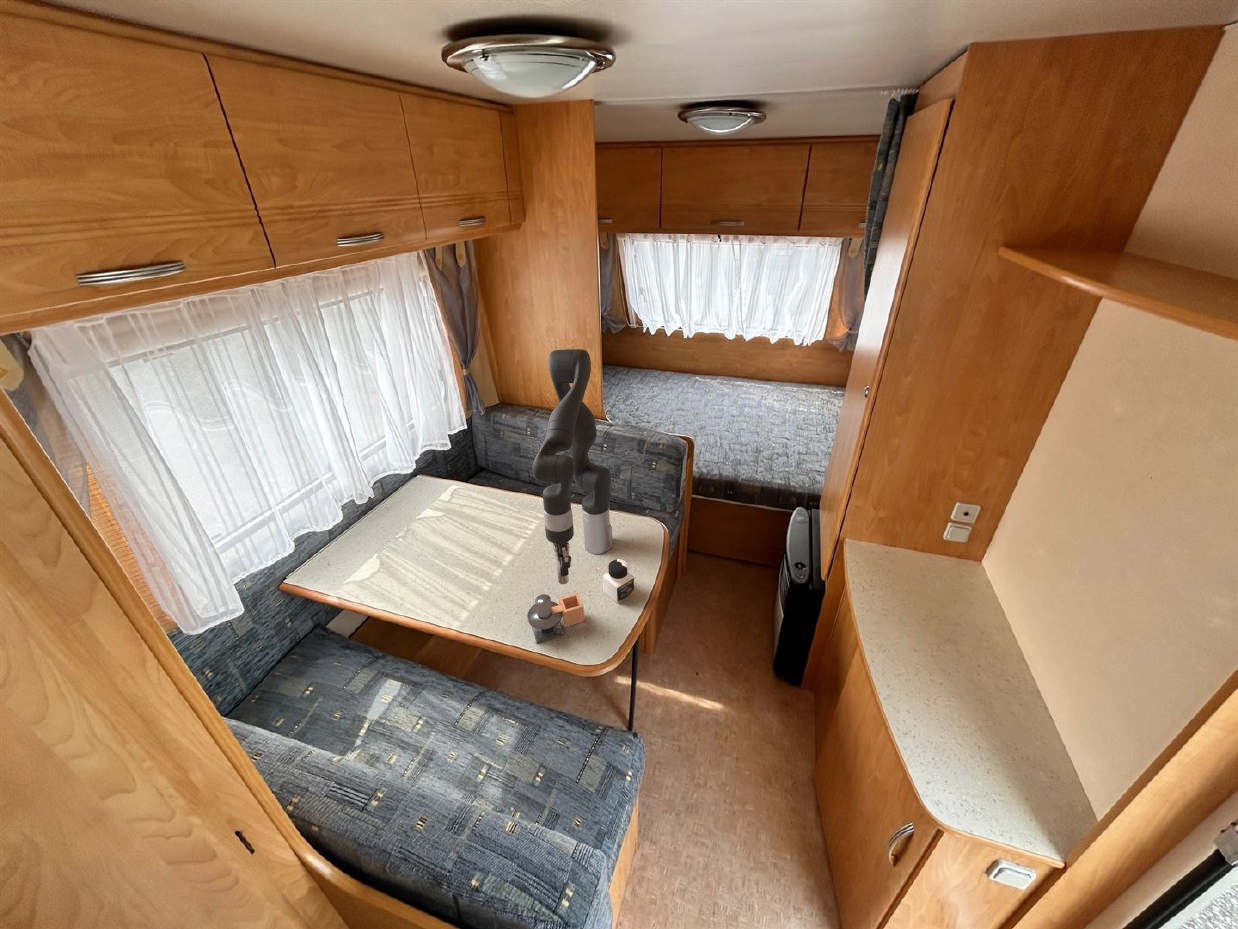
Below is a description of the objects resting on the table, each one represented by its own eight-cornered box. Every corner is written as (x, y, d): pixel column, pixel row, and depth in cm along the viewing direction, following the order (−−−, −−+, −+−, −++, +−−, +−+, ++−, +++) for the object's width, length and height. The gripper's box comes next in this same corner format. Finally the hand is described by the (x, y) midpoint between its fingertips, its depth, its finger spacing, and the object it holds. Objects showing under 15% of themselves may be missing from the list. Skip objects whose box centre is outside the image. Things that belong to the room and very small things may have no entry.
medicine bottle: (617, 604, 160) (616, 575, 154) (603, 592, 164) (601, 563, 158) (634, 593, 164) (634, 564, 157) (619, 581, 168) (619, 553, 162)
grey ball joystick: (558, 612, 157) (555, 583, 151) (567, 636, 149) (564, 607, 143) (526, 621, 154) (522, 592, 148) (533, 647, 146) (529, 617, 140)
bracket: (578, 607, 156) (577, 592, 153) (584, 621, 152) (583, 606, 149) (550, 615, 154) (548, 601, 151) (555, 629, 149) (553, 615, 146)
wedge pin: (567, 575, 148) (565, 546, 143) (570, 583, 146) (567, 552, 140) (557, 578, 147) (554, 548, 142) (559, 585, 145) (556, 555, 139)
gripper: (579, 534, 131) (582, 584, 140) (566, 504, 143) (569, 552, 151) (550, 540, 129) (555, 591, 138) (539, 510, 141) (544, 558, 149)
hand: (563, 570), depth 145 cm, fingers closed on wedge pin, 3 cm apart
